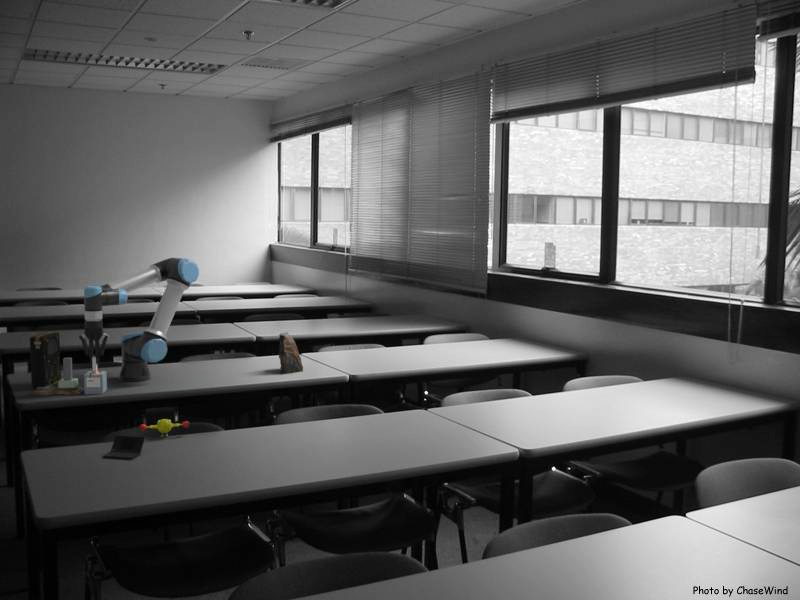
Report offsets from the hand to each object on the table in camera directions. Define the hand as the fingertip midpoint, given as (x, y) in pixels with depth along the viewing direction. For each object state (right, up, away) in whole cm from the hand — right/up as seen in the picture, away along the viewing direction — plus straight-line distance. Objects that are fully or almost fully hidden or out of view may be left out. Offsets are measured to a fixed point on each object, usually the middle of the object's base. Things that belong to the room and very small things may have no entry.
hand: (95, 370), depth 359 cm
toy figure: (+53, -19, -68) cm, 88 cm away
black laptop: (+45, -21, -90) cm, 103 cm away
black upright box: (-28, -9, +13) cm, 32 cm away
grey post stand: (-12, -7, -1) cm, 14 cm away
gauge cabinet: (0, -10, +1) cm, 10 cm away
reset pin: (0, -5, +1) cm, 5 cm away
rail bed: (-16, -10, -1) cm, 19 cm away
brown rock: (+82, -5, +54) cm, 98 cm away
